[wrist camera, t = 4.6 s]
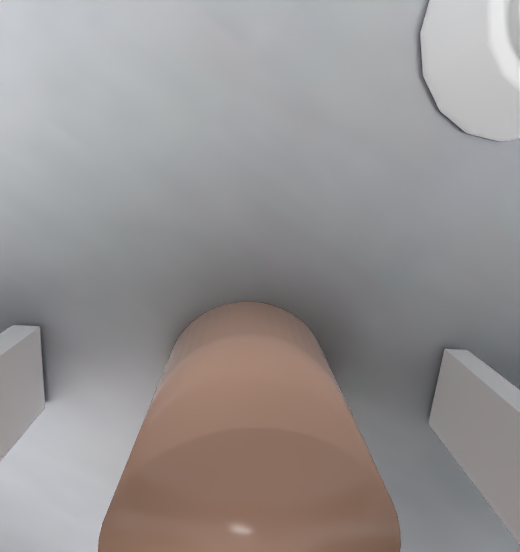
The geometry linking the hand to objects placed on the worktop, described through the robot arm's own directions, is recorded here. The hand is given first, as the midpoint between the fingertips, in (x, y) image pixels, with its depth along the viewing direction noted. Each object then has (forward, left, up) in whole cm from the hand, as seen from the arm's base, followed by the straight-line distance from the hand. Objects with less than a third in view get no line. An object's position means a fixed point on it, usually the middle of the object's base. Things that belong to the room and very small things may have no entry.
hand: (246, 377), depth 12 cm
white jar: (-6, -10, -1) cm, 12 cm away
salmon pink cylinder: (0, 0, 0) cm, 0 cm away
